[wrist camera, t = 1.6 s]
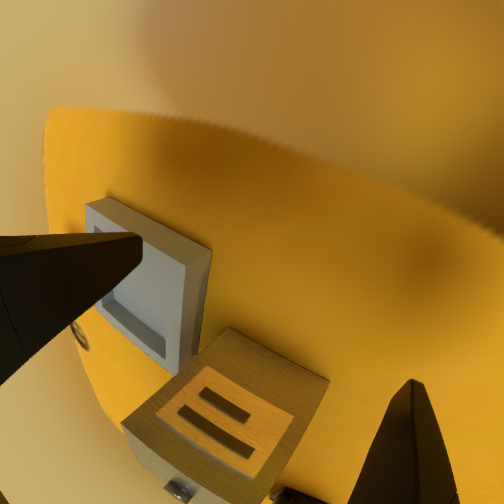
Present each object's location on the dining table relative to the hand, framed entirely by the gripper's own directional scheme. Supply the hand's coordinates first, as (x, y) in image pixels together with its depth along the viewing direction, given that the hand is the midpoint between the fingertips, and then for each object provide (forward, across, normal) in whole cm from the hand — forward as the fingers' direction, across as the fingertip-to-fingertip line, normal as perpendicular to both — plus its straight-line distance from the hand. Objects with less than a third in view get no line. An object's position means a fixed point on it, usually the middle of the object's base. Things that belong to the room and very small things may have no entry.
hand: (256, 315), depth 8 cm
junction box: (+6, 0, +11) cm, 13 cm away
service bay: (+6, +10, +8) cm, 14 cm away
